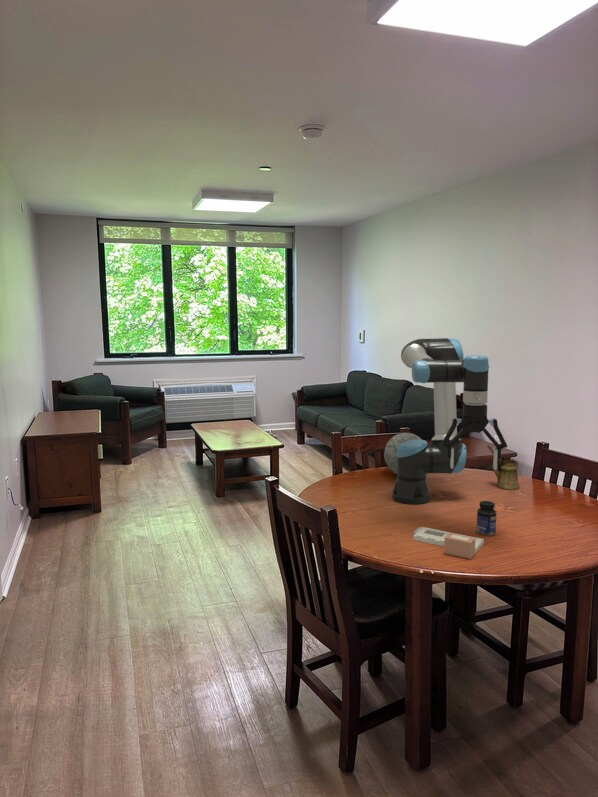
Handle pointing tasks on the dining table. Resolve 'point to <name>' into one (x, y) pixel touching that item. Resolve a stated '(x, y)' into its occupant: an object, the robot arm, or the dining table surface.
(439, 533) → the white grooved bar
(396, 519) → the dining table surface
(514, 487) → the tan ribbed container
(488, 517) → the pill bottle
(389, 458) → the decorative sphere
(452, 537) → the stub
